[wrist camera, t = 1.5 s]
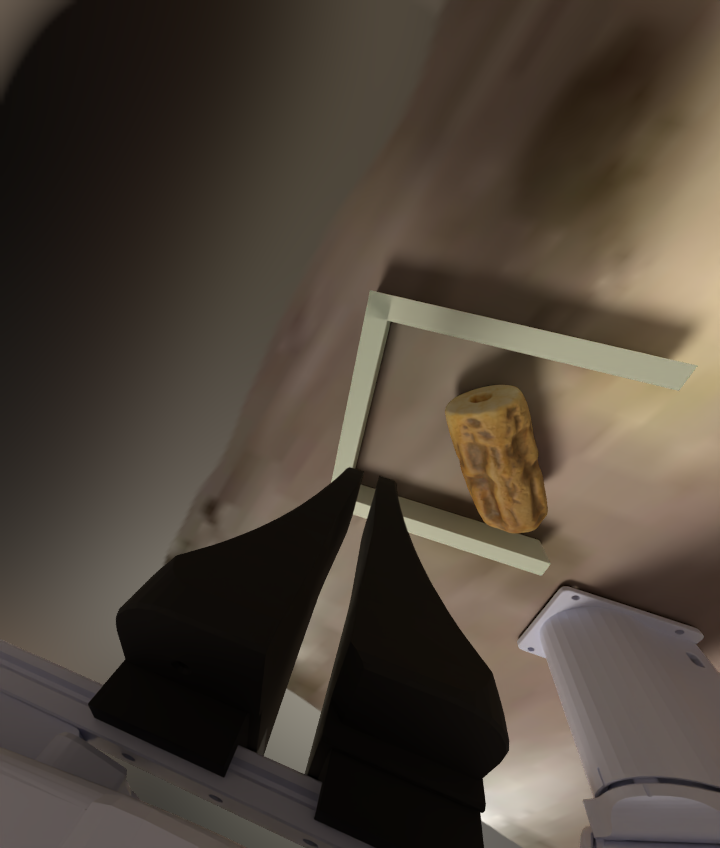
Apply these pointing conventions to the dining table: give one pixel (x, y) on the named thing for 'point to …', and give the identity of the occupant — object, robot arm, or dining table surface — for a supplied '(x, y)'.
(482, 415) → the carved stone cylinder
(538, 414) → the dining table surface
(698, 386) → the dining table surface
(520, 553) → the pale grey flat frame
